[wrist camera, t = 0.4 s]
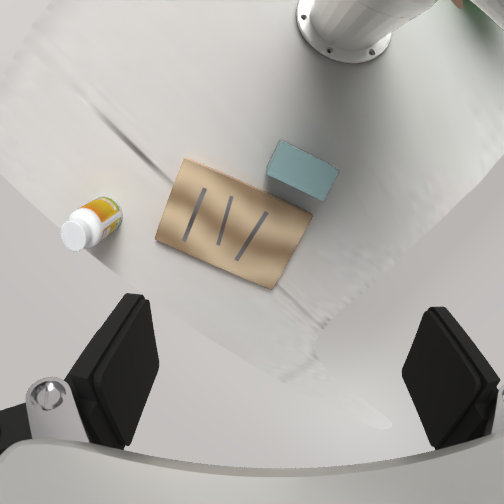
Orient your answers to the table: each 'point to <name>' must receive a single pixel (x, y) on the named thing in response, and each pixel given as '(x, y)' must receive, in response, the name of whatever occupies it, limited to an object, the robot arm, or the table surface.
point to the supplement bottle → (91, 223)
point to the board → (231, 224)
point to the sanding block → (301, 170)
